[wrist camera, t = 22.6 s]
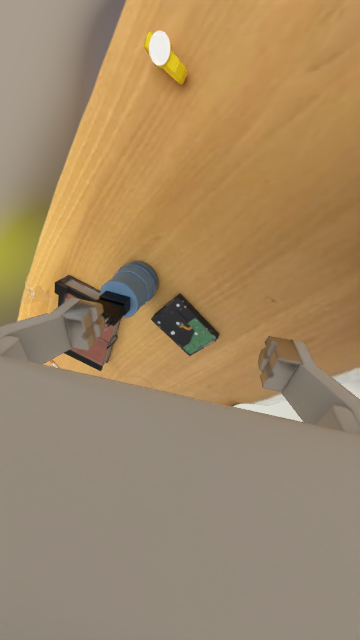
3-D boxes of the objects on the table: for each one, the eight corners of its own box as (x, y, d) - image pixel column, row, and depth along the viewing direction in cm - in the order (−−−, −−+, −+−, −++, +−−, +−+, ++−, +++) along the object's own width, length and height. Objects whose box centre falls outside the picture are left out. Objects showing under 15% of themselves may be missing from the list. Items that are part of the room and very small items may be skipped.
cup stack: (167, 280, 49) (150, 302, 40) (145, 304, 54) (126, 328, 45) (135, 251, 47) (110, 267, 38) (116, 278, 52) (89, 298, 43)
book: (109, 362, 71) (101, 373, 67) (63, 339, 70) (52, 348, 66) (127, 305, 56) (118, 314, 52) (68, 275, 55) (55, 282, 51)
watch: (150, 66, 30) (132, 44, 26) (159, 39, 29) (142, 11, 24) (183, 95, 31) (172, 80, 26) (193, 71, 30) (184, 50, 25)
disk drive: (154, 314, 55) (191, 350, 59) (150, 319, 53) (189, 357, 56) (180, 292, 50) (220, 333, 53) (177, 297, 47) (219, 340, 51)
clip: (130, 297, 40) (107, 320, 33) (130, 309, 42) (108, 334, 35) (106, 290, 41) (78, 312, 34) (106, 303, 43) (80, 326, 36)
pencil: (79, 391, 87) (78, 392, 86) (49, 359, 79) (48, 360, 79) (81, 391, 86) (80, 392, 86) (51, 358, 79) (49, 360, 78)
